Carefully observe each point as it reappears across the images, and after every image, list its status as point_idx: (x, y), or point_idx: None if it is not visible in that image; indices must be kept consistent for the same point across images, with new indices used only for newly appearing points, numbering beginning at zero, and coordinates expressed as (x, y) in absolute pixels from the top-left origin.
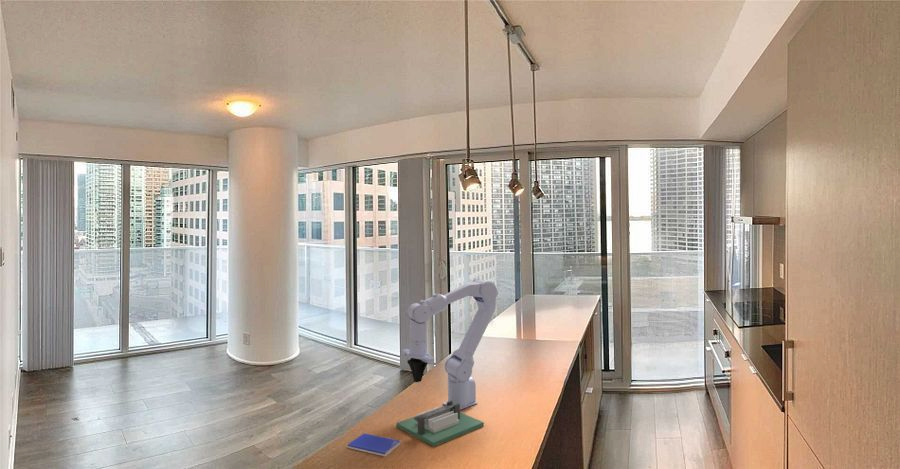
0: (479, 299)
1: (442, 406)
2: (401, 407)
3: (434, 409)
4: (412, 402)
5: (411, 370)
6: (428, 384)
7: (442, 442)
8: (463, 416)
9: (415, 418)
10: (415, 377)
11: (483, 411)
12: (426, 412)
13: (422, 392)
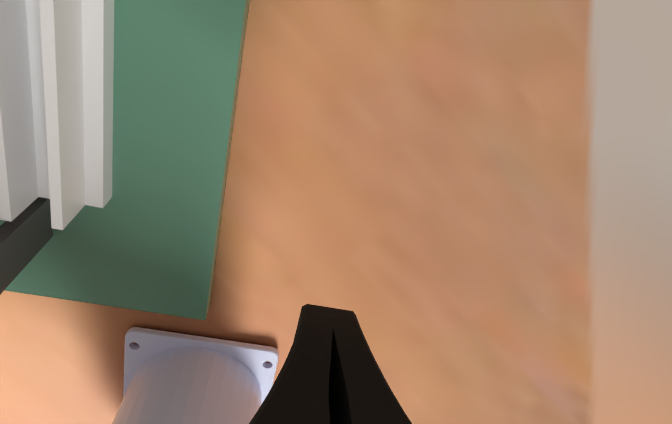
0: None
1: (52, 227)
2: (488, 175)
3: (48, 143)
4: (469, 276)
5: (404, 417)
6: None
7: None
8: None
9: None
10: (310, 340)
11: (18, 389)
12: (45, 48)
13: (504, 406)
